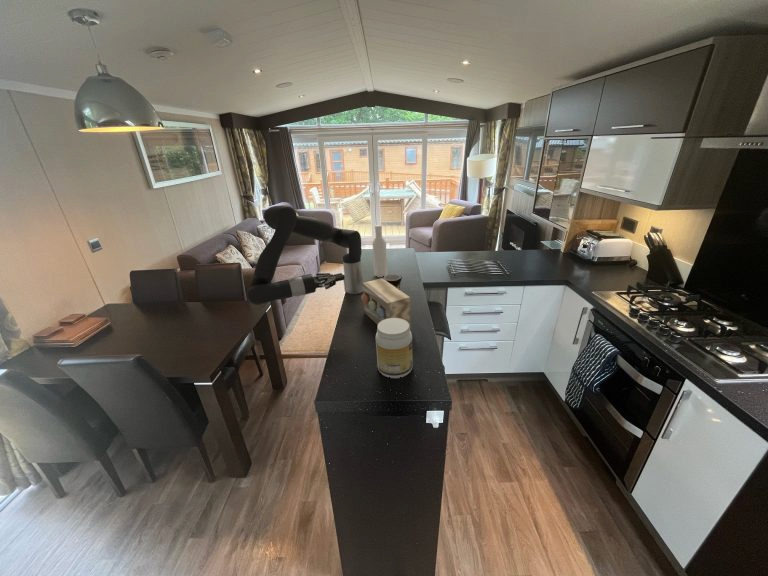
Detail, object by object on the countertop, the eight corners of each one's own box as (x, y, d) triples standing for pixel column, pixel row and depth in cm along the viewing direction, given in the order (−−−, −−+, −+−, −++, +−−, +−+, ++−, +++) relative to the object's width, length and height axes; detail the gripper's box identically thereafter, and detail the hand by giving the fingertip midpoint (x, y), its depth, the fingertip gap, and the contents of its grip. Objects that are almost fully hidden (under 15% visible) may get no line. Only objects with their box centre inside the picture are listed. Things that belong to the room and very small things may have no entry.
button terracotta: (365, 305, 136) (364, 297, 134) (361, 302, 139) (360, 293, 137) (369, 304, 136) (369, 296, 135) (365, 301, 140) (365, 292, 138)
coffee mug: (389, 300, 155) (388, 282, 151) (381, 294, 162) (380, 276, 158) (409, 294, 160) (409, 276, 156) (401, 289, 167) (400, 271, 163)
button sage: (372, 312, 129) (372, 303, 128) (368, 308, 133) (368, 300, 131) (377, 311, 130) (376, 302, 128) (372, 307, 134) (372, 298, 132)
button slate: (381, 320, 123) (380, 311, 121) (376, 316, 127) (375, 307, 125) (385, 319, 124) (385, 309, 122) (380, 314, 127) (380, 305, 126)
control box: (389, 336, 125) (387, 303, 119) (364, 312, 145) (362, 282, 138) (410, 329, 129) (409, 297, 123) (383, 307, 149) (382, 278, 142)
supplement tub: (417, 376, 102) (417, 332, 95) (381, 382, 100) (378, 338, 93) (407, 354, 113) (406, 313, 106) (374, 360, 111) (371, 319, 104)
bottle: (387, 277, 183) (384, 226, 171) (373, 277, 184) (370, 227, 172) (387, 272, 190) (385, 223, 178) (375, 272, 191) (372, 224, 179)
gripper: (304, 282, 114) (348, 272, 121) (295, 271, 125) (336, 263, 132) (307, 300, 117) (350, 290, 124) (298, 288, 128) (338, 279, 135)
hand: (343, 276), depth 128 cm, fingers closed
